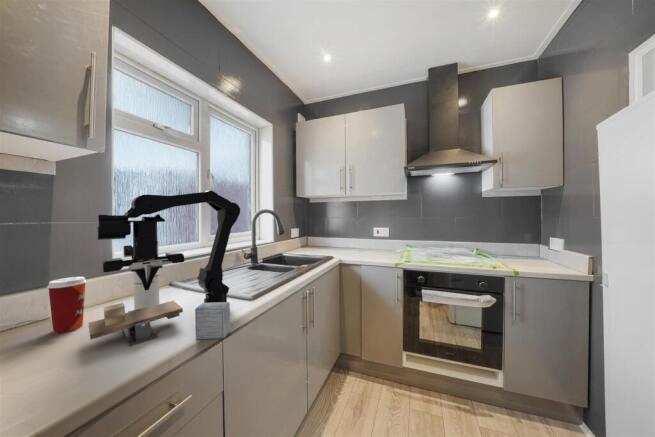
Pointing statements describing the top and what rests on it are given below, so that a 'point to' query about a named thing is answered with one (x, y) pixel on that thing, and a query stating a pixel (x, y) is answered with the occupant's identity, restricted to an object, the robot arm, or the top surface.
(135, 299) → the cylindrical container
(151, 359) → the top surface
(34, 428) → the top surface
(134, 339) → the beam stand
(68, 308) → the coffee cup
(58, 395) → the top surface
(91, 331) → the beam
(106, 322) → the maple block
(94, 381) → the top surface
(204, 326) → the medicine box
